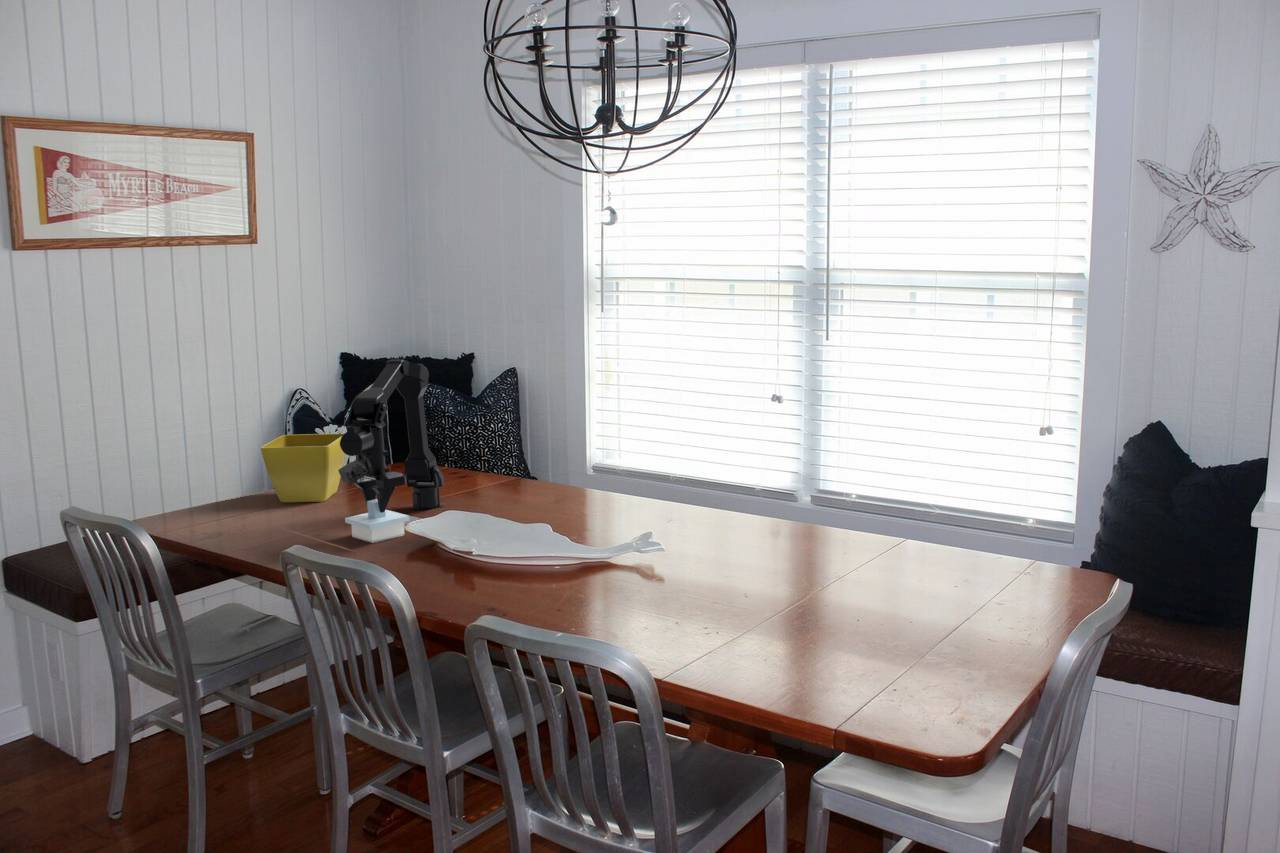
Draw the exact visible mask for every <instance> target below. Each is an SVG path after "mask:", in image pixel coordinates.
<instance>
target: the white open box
mask: <svg viewBox="0 0 1280 853" xmlns="http://www.w3.org/2000/svg"><path fill="white" fill-rule="evenodd" d="M350 526H351V536H352V538H354V539H358V540H362V541H363V542H367V543H371V544H374V543H375V544H376V543H379V542H383V541H386V540H390V539H391V540H392V539H394V538H399V537H403V536H405V525H404V522H401V523H397V524H393V525H389V526H385V527H380V528H376V529H372V530H369V529H365V528H362V527H358V526H355V525H351V524H350Z"/></svg>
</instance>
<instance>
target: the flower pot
mask: <svg viewBox="0 0 1280 853" xmlns="http://www.w3.org/2000/svg"><path fill="white" fill-rule="evenodd" d="M344 434H345V433H312V434H311V433H307V434H306V433H305V434H303V433H302V434H283V435H280V436H278V437H276V438H275V439H273V440H271V441H270V442H268V443H266V444H264V445H262V446H261V447H260V451H261V455H262V460H263V462H264V465H265V468H266V471H267V474H268V478H269V480H270V482H271V484H272V486H273V489H274V491H275V493H276V496H277V498H278V499H279V501H280V503H316V502H317V503H322V502H326V501H327V500H328V499H329V498H331V497H332V496H333V495H334V494H336V493H337V492H338V488H339V485H340V480H341V476H340V474H339V471H338V470H339V469H340V468H342V467H344V462H345V461H344V460H345V455H346V454H345V453H344V452H343V451H342V449H341V447H340V440H341V437H342V436H343V435H344Z"/></svg>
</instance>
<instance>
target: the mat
mask: <svg viewBox="0 0 1280 853" xmlns="http://www.w3.org/2000/svg"><path fill="white" fill-rule="evenodd" d="M396 512H397V511H396ZM397 513H399V512H397ZM400 513H401V512H400ZM401 514H403V513H401ZM407 515H408V514H407ZM408 516H409V521H405V522H404V526H407V525H406V524H408V523H410V522H413V521H416V520H420V519H422V518H420V517H416V516H412V515H408ZM408 525H409V524H408Z"/></svg>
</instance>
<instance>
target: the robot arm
mask: <svg viewBox="0 0 1280 853" xmlns="http://www.w3.org/2000/svg"><path fill="white" fill-rule="evenodd" d="M429 377H430V373H429V370H428V368H427V367H426V366H425V365H424V364H423V363H414V362H410V361H409V360H405V359H389V360H387V361H386V362H385V367H384V368H383V370H382V371H381V372H380V374H379V375H378V377H377V378H376V379H375V381H374V383H373V384H372V385H371V386H370V388H369V389H366V390H364V391H362V392H360V393H359V394H357V395H356V396H355V397H354V399H353V400H352V402H351V405H350V408H349V413H348V417H347V421H346V425H345V426H346V432H345V433H344V435H343V436H342V437H341V440H340V447H341V449H342V451H343V452H344V453H345V455H347V456H350V457H355V459H354V460H353V461H350V462H349V463H347V464H345V465H343V467H342V468H340V469H339V470H338V471H339V474H340V476H341V477H340V479H341V480H342V482H343V483H347V484H349V485H350V484H351V485H355V486H356V487H358V489H359V490H360V492H361V494H362V497H363V499H364V501H365V503H366V505H367V501H370V500H375V499H377V500H378V506H379V510H380V512H381V513H382V512H385V510H387V508H388V507H387V506H388V504H389V501H390V499H391V497H392V495H393V493H394V491H395V489H396V487H400V486H406V485H407V488H412V493H411V498H412V506H410V508H411V509H414V510H418V511H422V512H428V511H431V510H436V509H439V508H444V505H443V504H441V501H440V500H441V499H440V488H441V487H444V483H445V476H444V474H443V472H442V471H441V469H440V468H439V466H438V463H437V459H436V456H435V455H434V454H433V452H432V451H431V450H430V448H429V441H428V432H427V430H428V429H427V421H426V420H427V419H426V412H425V411H426V410H425V402H424V401H425V400H424V395H425V393H426V391H427V388H428V386H429ZM395 389H396V390H397V391H398V392H399V394H400V395H401V396H402V397H403V399H404V406H405V407H404V409H405V415H406V424H407V425H406V426H407V435H408V444H409V453H408V456H407V458H406V459H404V461H403V465H404V474H403V472H397V471H390V467H387V466H386V456H389V451H388V450H385V442H384V429H383V428H384V427H385V426H386V425H387V424H386V422H385V421H384V419H385V416H386V415H387V411H388V409H389V406H388V405H389V404H388V400H389V398H390V397H391V396H392V394H393V392H394V391H395Z"/></svg>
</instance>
